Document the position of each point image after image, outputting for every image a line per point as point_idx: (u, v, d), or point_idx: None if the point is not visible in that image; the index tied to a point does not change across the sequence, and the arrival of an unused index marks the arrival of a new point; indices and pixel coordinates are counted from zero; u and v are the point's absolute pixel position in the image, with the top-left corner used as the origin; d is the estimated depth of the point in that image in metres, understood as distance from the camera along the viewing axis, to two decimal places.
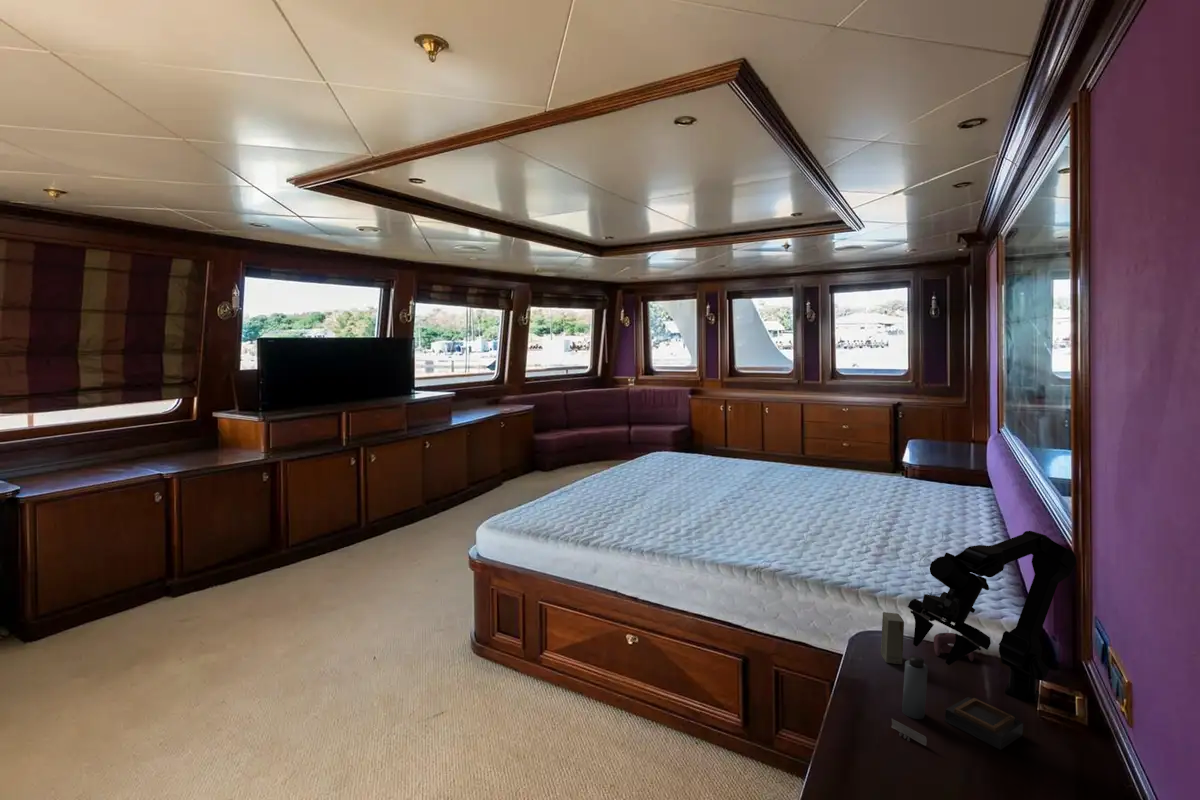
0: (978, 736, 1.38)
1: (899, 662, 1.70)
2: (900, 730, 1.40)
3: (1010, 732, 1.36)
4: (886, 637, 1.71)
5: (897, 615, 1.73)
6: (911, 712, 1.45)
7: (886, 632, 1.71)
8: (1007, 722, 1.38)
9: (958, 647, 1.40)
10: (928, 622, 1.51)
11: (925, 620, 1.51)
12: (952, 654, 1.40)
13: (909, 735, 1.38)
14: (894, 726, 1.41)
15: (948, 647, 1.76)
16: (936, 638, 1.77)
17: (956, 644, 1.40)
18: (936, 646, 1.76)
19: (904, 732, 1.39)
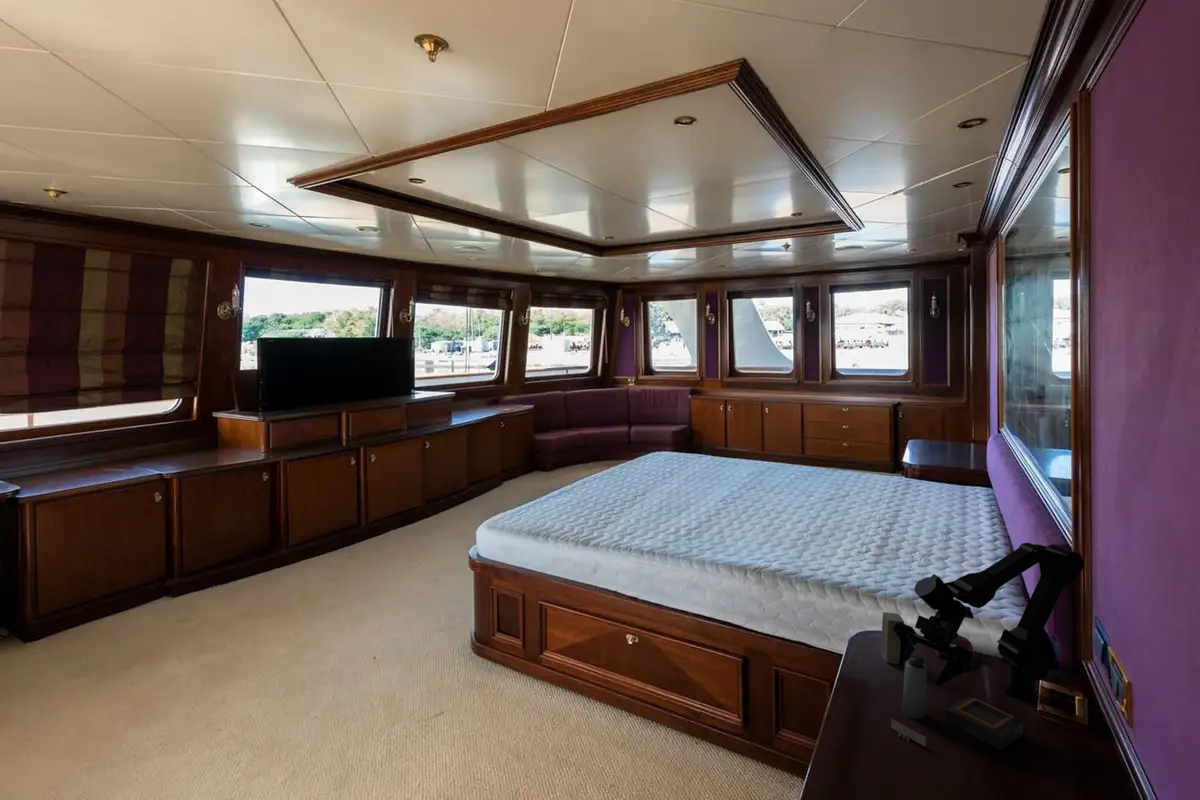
0: (978, 736, 1.38)
1: None
2: (899, 730, 1.39)
3: (1010, 732, 1.36)
4: (886, 637, 1.71)
5: (897, 615, 1.73)
6: (911, 712, 1.45)
7: (886, 632, 1.71)
8: (1007, 722, 1.38)
9: (950, 668, 1.43)
10: (911, 645, 1.54)
11: (910, 643, 1.53)
12: (943, 675, 1.43)
13: (908, 735, 1.38)
14: (893, 726, 1.41)
15: None
16: None
17: (947, 665, 1.43)
18: None
19: (903, 732, 1.39)
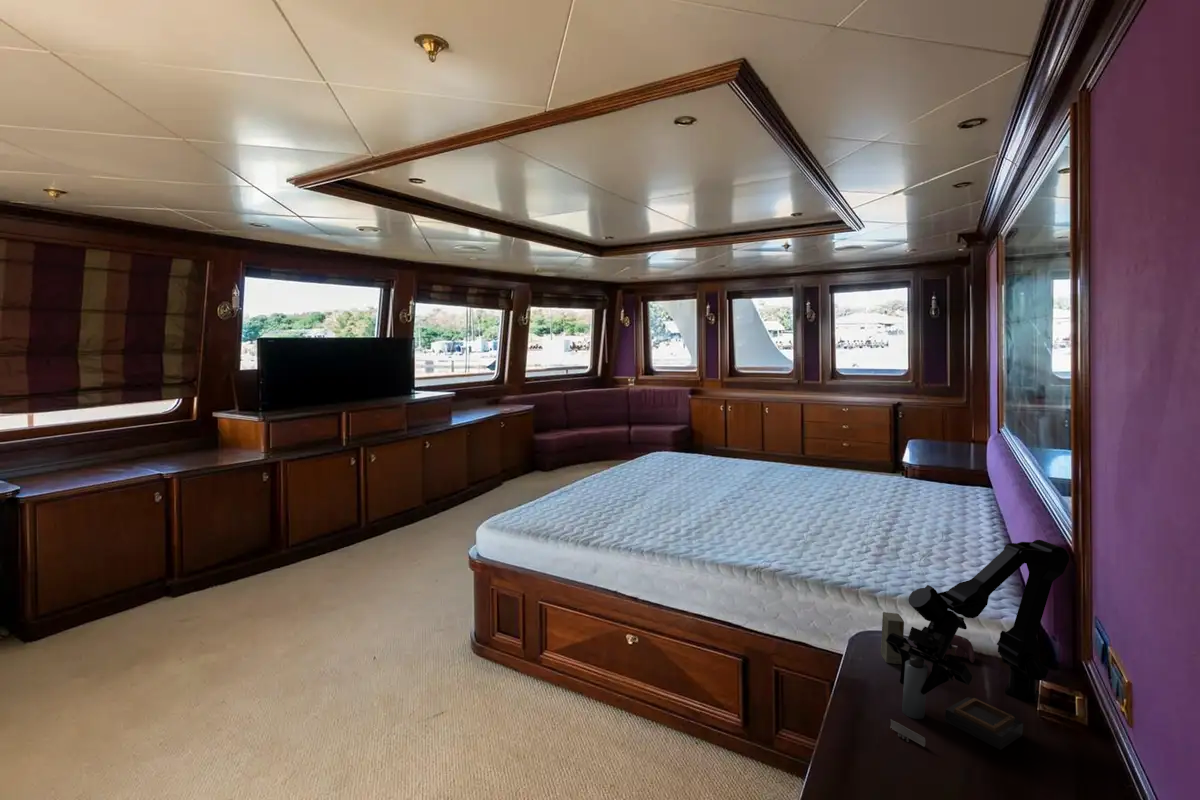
0: (978, 736, 1.38)
1: (899, 662, 1.70)
2: (899, 731, 1.39)
3: (1010, 732, 1.36)
4: (886, 637, 1.71)
5: (897, 615, 1.73)
6: (911, 712, 1.45)
7: (886, 632, 1.71)
8: (1007, 722, 1.38)
9: (934, 677, 1.43)
10: None
11: None
12: (928, 683, 1.43)
13: (908, 736, 1.38)
14: (893, 727, 1.41)
15: None
16: None
17: (932, 674, 1.44)
18: None
19: (903, 733, 1.39)
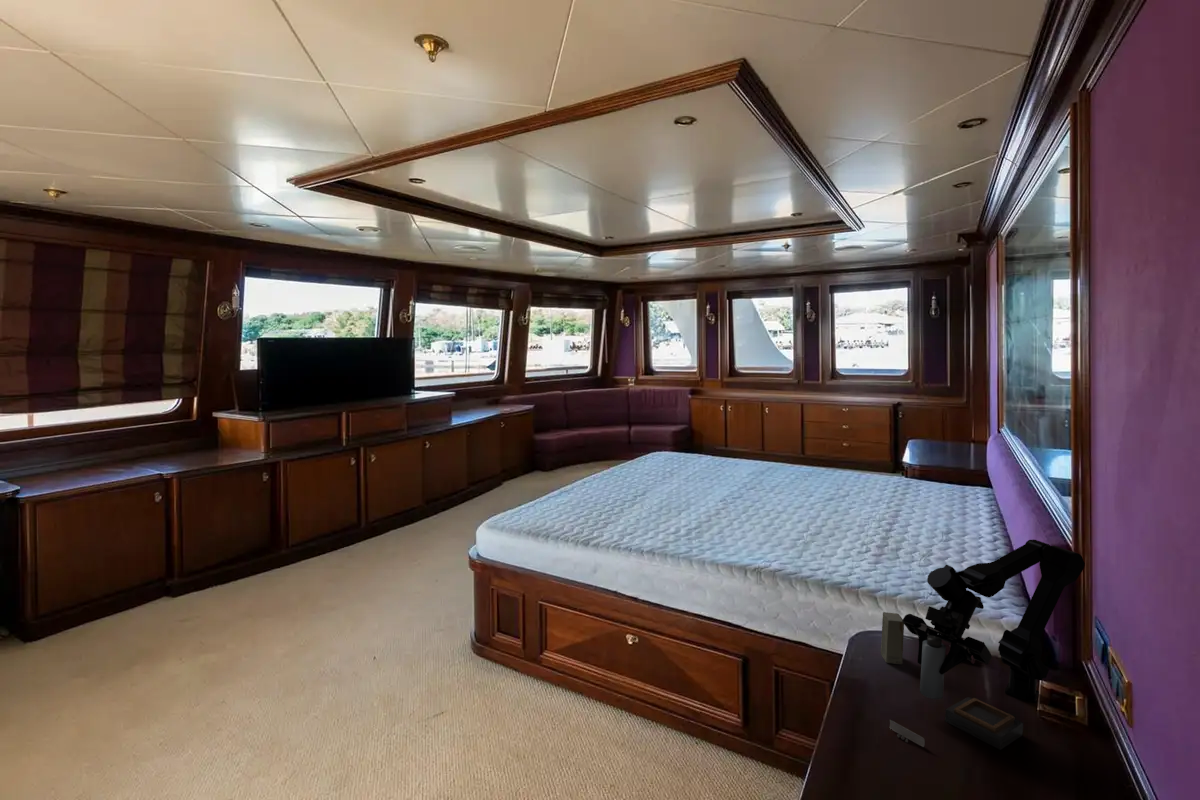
0: (978, 736, 1.38)
1: (899, 662, 1.70)
2: (898, 731, 1.39)
3: (1010, 732, 1.36)
4: (886, 637, 1.71)
5: (897, 615, 1.73)
6: (929, 692, 1.43)
7: (886, 632, 1.71)
8: (1007, 722, 1.38)
9: (953, 656, 1.41)
10: None
11: None
12: (946, 663, 1.42)
13: (907, 736, 1.37)
14: (892, 727, 1.40)
15: (949, 649, 1.75)
16: None
17: (951, 653, 1.42)
18: None
19: (902, 733, 1.38)
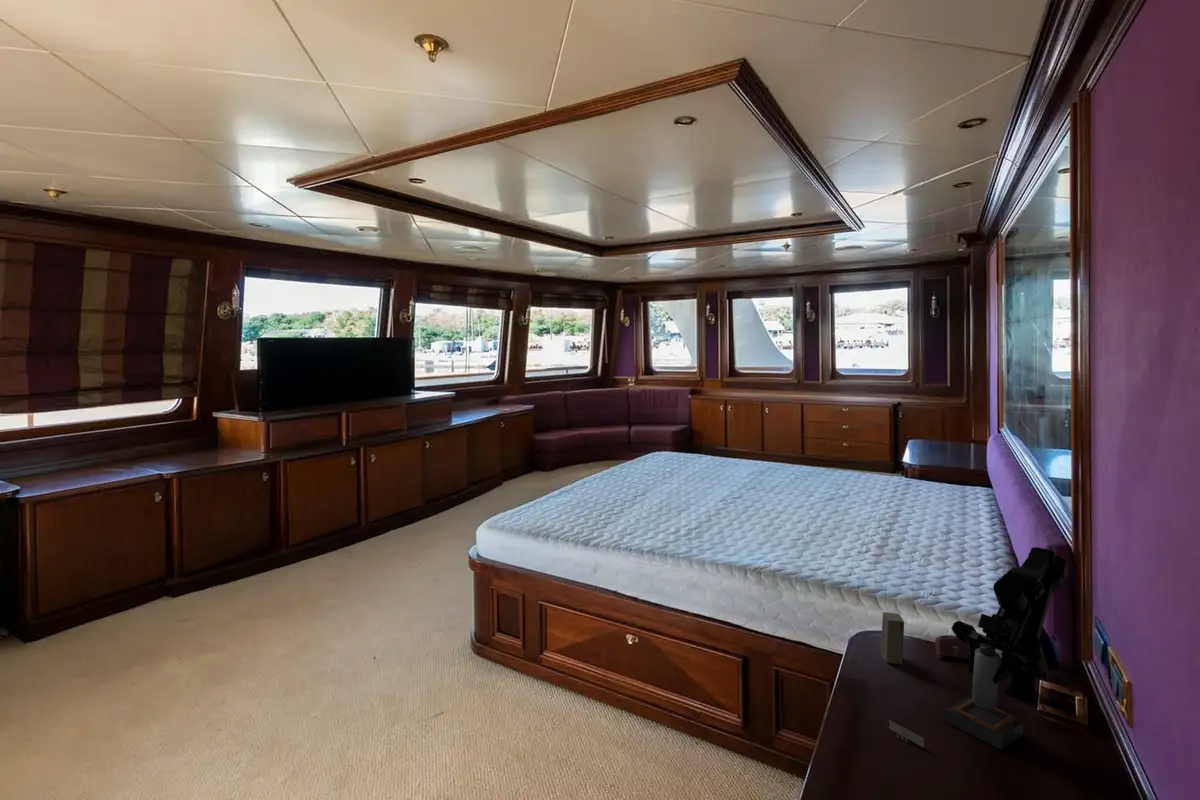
0: (978, 736, 1.38)
1: (899, 662, 1.70)
2: (897, 731, 1.39)
3: (1010, 732, 1.36)
4: (886, 637, 1.71)
5: (897, 615, 1.73)
6: (982, 702, 1.39)
7: (886, 632, 1.71)
8: (1007, 722, 1.38)
9: (1007, 665, 1.37)
10: None
11: None
12: (1001, 672, 1.38)
13: (907, 737, 1.37)
14: (891, 727, 1.40)
15: (950, 650, 1.75)
16: (938, 641, 1.76)
17: (1005, 662, 1.38)
18: (938, 649, 1.74)
19: (902, 734, 1.38)
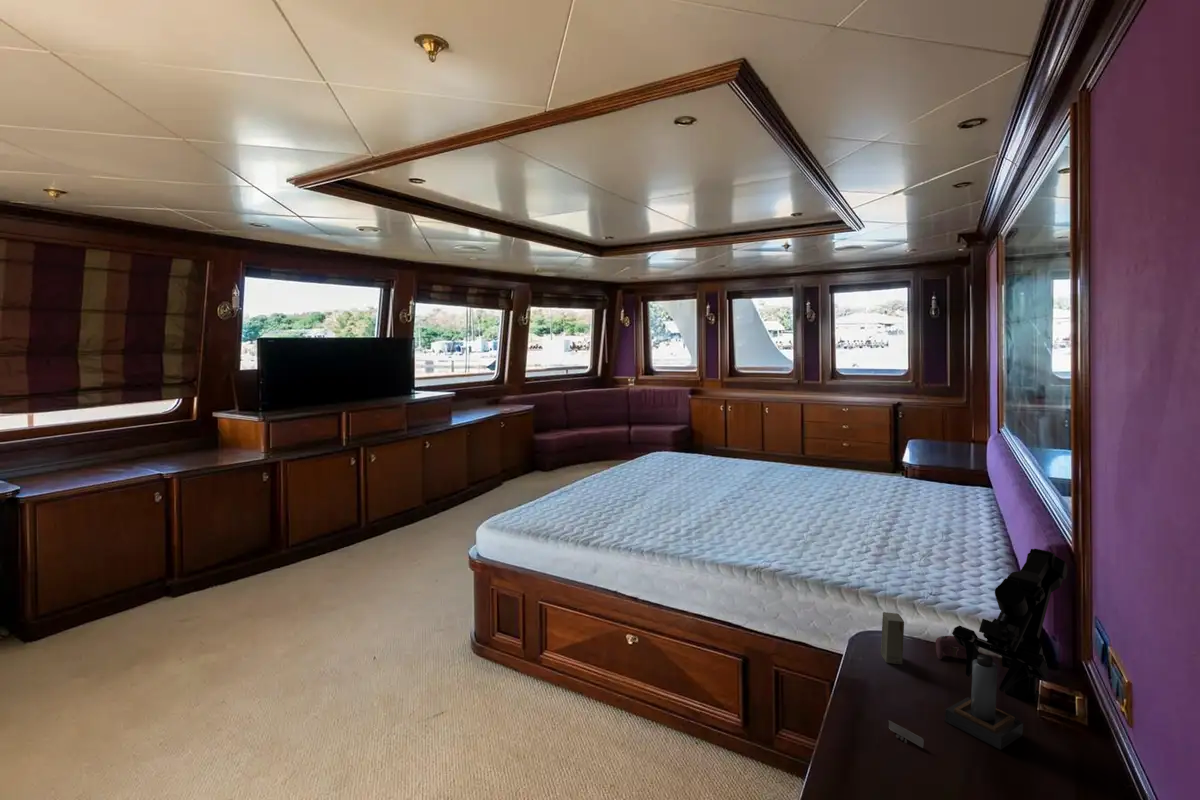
0: (978, 736, 1.38)
1: (899, 662, 1.70)
2: (897, 732, 1.39)
3: (1010, 732, 1.36)
4: (886, 637, 1.71)
5: (897, 615, 1.73)
6: (981, 713, 1.40)
7: (886, 632, 1.71)
8: (1007, 722, 1.38)
9: (1014, 673, 1.36)
10: (977, 652, 1.46)
11: (976, 649, 1.45)
12: (1007, 680, 1.37)
13: (906, 737, 1.37)
14: (891, 728, 1.40)
15: (950, 650, 1.75)
16: (938, 641, 1.75)
17: (1011, 669, 1.37)
18: (938, 649, 1.74)
19: (901, 734, 1.38)
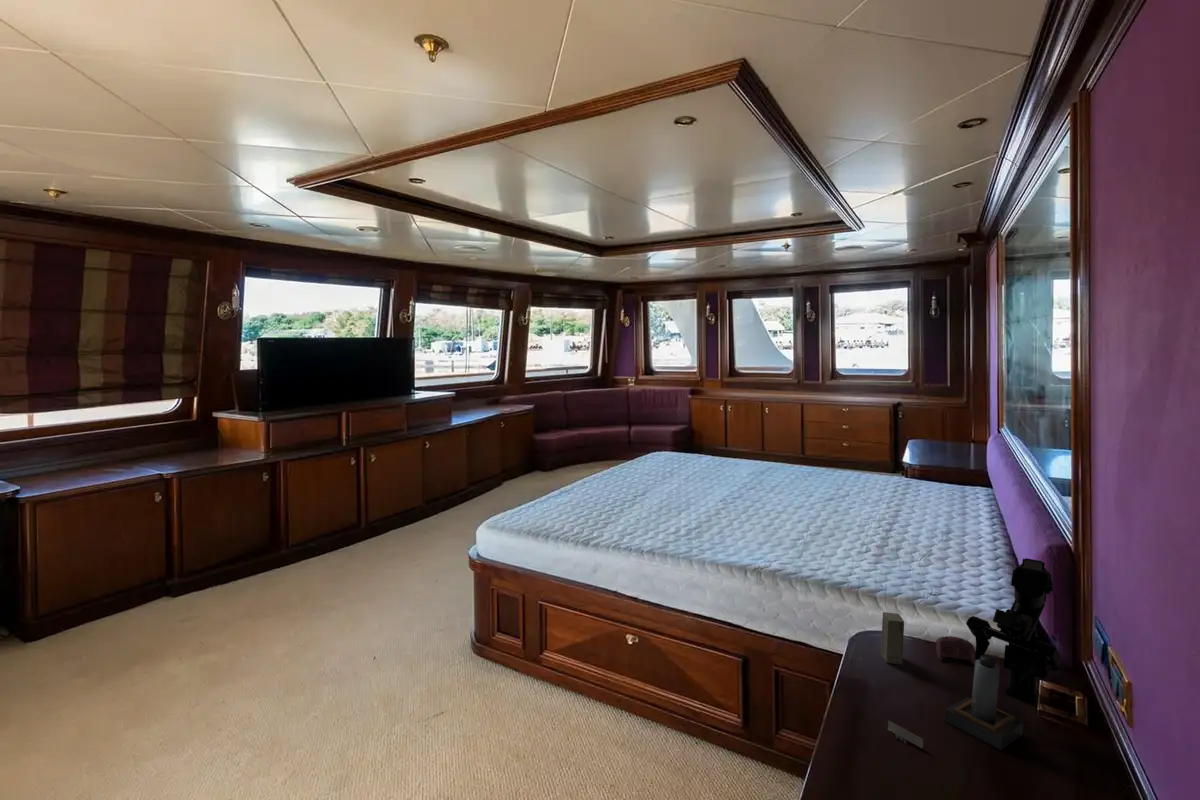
0: (978, 736, 1.38)
1: (899, 662, 1.70)
2: (896, 732, 1.39)
3: (1010, 732, 1.36)
4: (886, 637, 1.71)
5: (897, 615, 1.73)
6: (982, 714, 1.40)
7: (886, 632, 1.71)
8: (1007, 722, 1.38)
9: (1032, 663, 1.39)
10: (987, 640, 1.50)
11: (985, 637, 1.50)
12: (1025, 670, 1.39)
13: (905, 737, 1.37)
14: (890, 728, 1.40)
15: (951, 651, 1.74)
16: (938, 642, 1.75)
17: (1029, 660, 1.40)
18: (939, 650, 1.73)
19: (900, 734, 1.38)
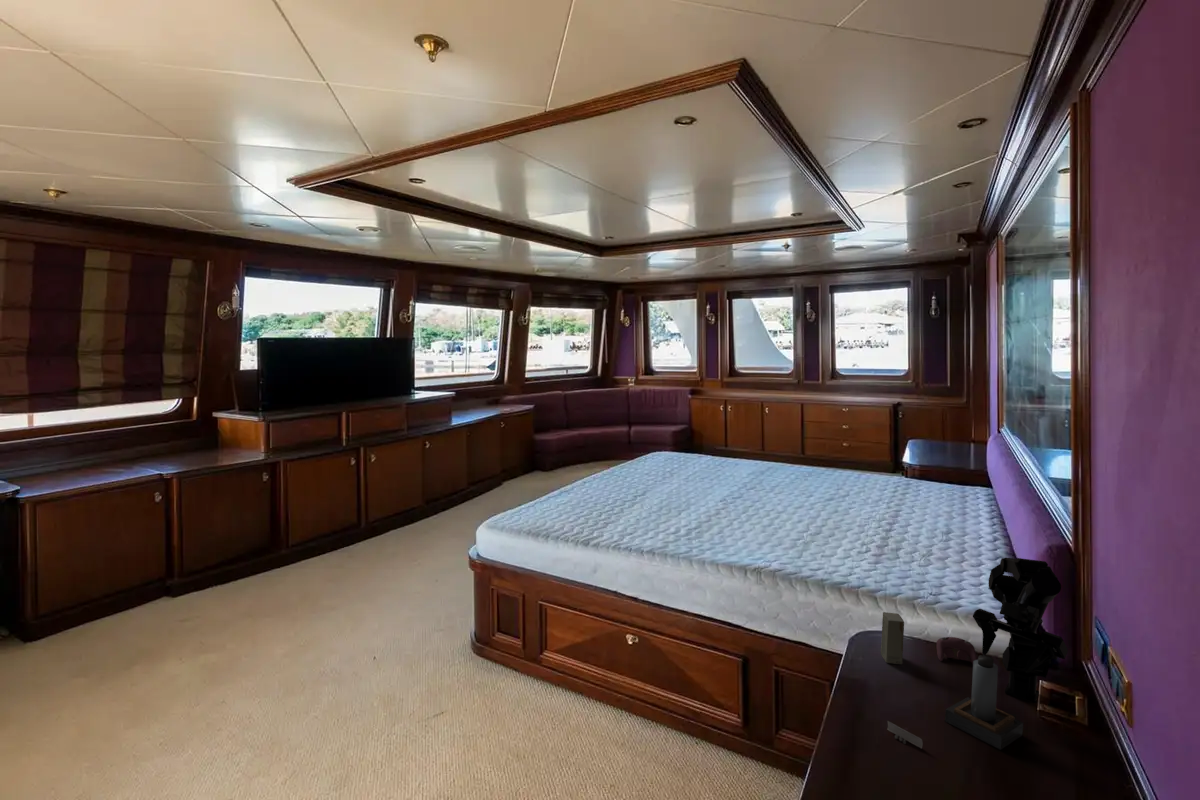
0: (978, 736, 1.38)
1: (899, 662, 1.70)
2: (896, 732, 1.39)
3: (1010, 732, 1.36)
4: (886, 637, 1.71)
5: (897, 615, 1.73)
6: (982, 714, 1.39)
7: (886, 632, 1.71)
8: (1007, 722, 1.38)
9: (1039, 654, 1.40)
10: (993, 632, 1.51)
11: (992, 630, 1.51)
12: (1032, 661, 1.41)
13: (905, 738, 1.37)
14: (890, 728, 1.40)
15: (951, 652, 1.74)
16: (939, 643, 1.74)
17: (1036, 651, 1.41)
18: (939, 651, 1.73)
19: (900, 735, 1.38)
